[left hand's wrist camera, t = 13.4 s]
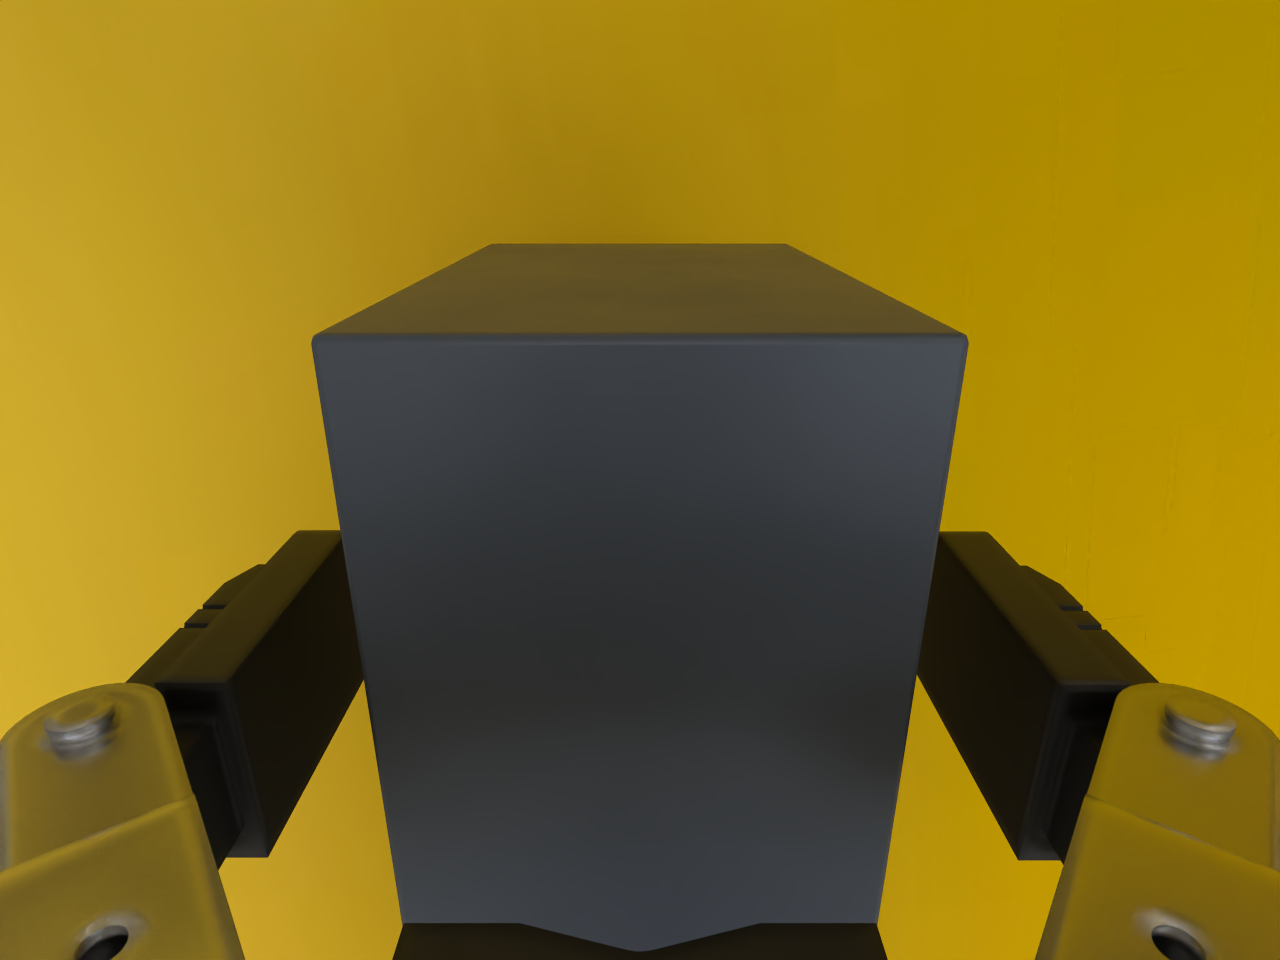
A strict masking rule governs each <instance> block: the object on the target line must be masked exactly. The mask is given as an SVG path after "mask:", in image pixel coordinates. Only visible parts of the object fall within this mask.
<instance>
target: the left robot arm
mask: <svg viewBox="0 0 1280 960" xmlns="http://www.w3.org/2000/svg"><path fill="white" fill-rule="evenodd" d="M184 624H185V626H184V628H179V629H178V630H177V631H176V632H175V633H174V634H173V635H172V636H171V637H170V638H169V639H168V640H167V641H166V642H165V643H164V644H163V645H162V646H161V647H160V648H159V649H158V650H157V651H156V652H155V653H154V654H153V655H152V656H151V657H150V658H149V659H148V660H147V661H146V662H145V663H144V664H143V665H142V666H141V667H140V668H139V669H138V670H137V671H136V672H135V673H134V674H133V675H132V676H131V677H130V678H129V679H128V680H127V681H126V682H125V683H115V684H106V685H101V686H96V687H91V688H88V689H84V690H81V691H77V692H74V693H72V694H69V695H66V696H63V697H61V698H59V699H56V700H54V701H52V702H50V703H48V704H46V705H44V706H42V707H40V708H38V709H37V710H35V711H33V712H32V713H30V714H29V715H27V716H25V717H24V718H23V719H21V720H20V721H19V722H18V723H16V724H15V725H14V726H13V727H12V728H11V729H10V730H9V731H8V732H7V733H6V734H5V735H4V736H3V738H2V739H1V740H0V960H245V957H244V954H243V951H242V948H241V944H240V941H239V938H238V934H237V931H236V928H235V925H234V921H233V918H232V915H231V912H230V908H229V905H228V902H227V898H226V895H225V892H224V889H223V885H222V882H221V879H220V876H219V872H218V870H219V868H220V867H221V865H222V863H223V862H224V860H225V858H226V857H268V856H269V854H270V853H271V851H272V849H273V847H274V845H275V843H276V841H277V840H278V838H279V836H280V834H281V832H282V830H283V828H284V827H285V825H286V823H287V821H288V819H289V817H290V815H291V814H292V812H293V810H294V808H295V806H296V804H297V802H298V801H299V799H300V797H301V795H302V793H303V791H304V789H305V788H306V786H307V784H308V782H309V780H310V778H311V776H312V775H313V773H314V771H315V769H316V767H317V765H318V763H319V762H320V760H321V758H322V756H323V754H324V752H325V750H326V749H327V747H328V745H329V743H330V741H331V739H332V737H333V736H334V734H335V732H336V730H337V728H338V726H339V724H340V723H341V721H342V719H343V717H344V715H345V713H346V711H347V710H348V708H349V706H350V704H351V702H352V700H353V698H354V697H355V695H356V693H357V691H358V689H359V687H360V685H361V683H362V682H363V680H364V676H363V670H362V663H361V657H360V651H359V644H358V638H357V632H356V625H355V619H354V613H353V606H352V600H351V593H350V587H349V581H348V574H347V568H346V562H345V555H344V549H343V542H342V536H341V530H299V531H297V532H296V533H295V534H293V535H292V537H291V538H290V539H289V540H288V541H287V542H286V543H285V544H284V545H283V546H282V547H281V548H280V549H279V550H278V551H277V553H276V554H275V555H274V556H273V557H272V558H271V559H270V560H269V561H268V562H267V563H266V564H258V565H256V566H254V567H253V568H251V569H249V570H247V571H245V572H244V573H242V574H240V575H238V576H236V577H235V578H233V579H231V580H229V581H227V582H226V583H224V584H223V585H222V586H221V587H220V588H219V589H218V590H217V591H216V592H215V593H214V594H213V595H212V596H211V597H210V598H209V599H208V600H207V601H206V602H205V603H204V604H203V609H198V610H197V611H196V612H195V613H194V614H193V615H192V616H191V617H190V618H189V619H188V620H187V621H186V622H185V623H184ZM917 675H918V677H919V679H920V681H921V683H922V685H923V686H924V688H925V690H926V692H927V694H928V696H929V697H930V699H931V701H932V703H933V705H934V707H935V708H936V710H937V712H938V714H939V716H940V718H941V719H942V721H943V723H944V725H945V727H946V729H947V730H948V732H949V734H950V736H951V738H952V740H953V741H954V743H955V745H956V747H957V749H958V751H959V752H960V754H961V756H962V758H963V760H964V762H965V763H966V765H967V767H968V769H969V771H970V773H971V774H972V776H973V778H974V780H975V782H976V784H977V785H978V787H979V789H980V791H981V793H982V795H983V796H984V798H985V800H986V802H987V804H988V806H989V807H990V809H991V811H992V813H993V815H994V817H995V818H996V820H997V822H998V824H999V826H1000V828H1001V830H1002V831H1003V833H1004V835H1005V837H1006V839H1007V841H1008V842H1009V844H1010V846H1011V848H1012V850H1013V852H1014V853H1015V855H1016V857H1017V859H1018V860H1061V862H1062V863H1063V865H1064V866H1063V869H1062V872H1061V876H1060V879H1059V882H1058V885H1057V889H1056V892H1055V895H1054V898H1053V902H1052V905H1051V908H1050V912H1049V915H1048V918H1047V921H1046V925H1045V928H1044V931H1043V934H1042V938H1041V941H1040V944H1039V948H1038V951H1037V954H1036V957H1035V960H1280V740H1279V739H1278V738H1277V736H1276V735H1275V734H1274V733H1273V732H1272V731H1271V730H1270V729H1269V728H1268V727H1267V726H1266V725H1265V724H1264V723H1262V722H1261V721H1260V720H1259V719H1257V718H1256V717H1255V716H1253V715H1251V714H1250V713H1248V712H1247V711H1245V710H1243V709H1242V708H1240V707H1238V706H1236V705H1234V704H1232V703H1230V702H1228V701H1226V700H1224V699H1221V698H1219V697H1217V696H1214V695H1211V694H1208V693H1206V692H1203V691H1199V690H1196V689H1192V688H1189V687H1184V686H1179V685H1174V684H1165V683H1159V682H1158V681H1157V680H1156V679H1155V678H1154V677H1153V676H1152V675H1151V674H1150V673H1149V672H1148V671H1147V670H1146V669H1145V668H1144V667H1143V666H1142V665H1141V664H1140V663H1139V662H1138V661H1137V660H1136V659H1135V658H1134V657H1133V656H1132V655H1131V654H1130V653H1129V652H1128V651H1127V650H1126V649H1125V648H1124V647H1123V646H1122V645H1121V644H1120V643H1119V642H1118V641H1117V640H1116V639H1115V638H1114V637H1113V636H1112V635H1111V634H1110V633H1109V632H1108V631H1107V630H1102V629H1101V624H1100V623H1099V622H1098V621H1097V620H1096V619H1095V618H1094V617H1093V616H1092V615H1091V614H1090V613H1089V612H1088V611H1083V606H1082V605H1081V604H1080V603H1079V602H1078V601H1077V600H1076V599H1075V598H1074V597H1073V596H1072V595H1071V594H1070V593H1069V592H1068V591H1067V590H1066V589H1065V588H1064V587H1063V586H1062V585H1061V584H1059V583H1057V582H1055V581H1053V580H1052V579H1050V578H1048V577H1046V576H1044V575H1043V574H1041V573H1039V572H1037V571H1035V570H1034V569H1032V568H1030V567H1028V566H1020V565H1019V564H1018V563H1017V562H1016V561H1015V560H1014V559H1013V558H1012V557H1011V556H1010V555H1009V554H1008V553H1007V552H1006V551H1005V550H1004V548H1003V547H1002V546H1001V545H1000V544H999V543H998V542H997V541H996V540H995V539H994V538H993V537H992V536H991V535H990V534H989V533H987V532H939V535H938V541H937V548H936V554H935V560H934V567H933V573H932V580H931V586H930V592H929V599H928V605H927V611H926V618H925V624H924V630H923V637H922V643H921V650H920V656H919V662H918V669H917ZM393 960H887V956H886V953H885V950H884V947H883V943H882V940H881V937H880V934H879V931H878V927H877V924H876V923H758V924H754V925H750V926H746V927H742V928H738V929H734V930H730V931H726V932H722V933H718V934H714V935H710V936H706V937H702V938H698V939H694V940H690V941H686V942H682V943H678V944H674V945H670V946H666V947H662V948H658V949H655V950H649V951H631V950H625V949H622V948H618V947H614V946H610V945H606V944H602V943H598V942H594V941H590V940H586V939H582V938H578V937H574V936H570V935H566V934H562V933H558V932H554V931H550V930H546V929H542V928H538V927H534V926H530V925H526V924H522V923H404V924H403V927H402V931H401V934H400V937H399V940H398V943H397V947H396V950H395V953H394V956H393Z"/></svg>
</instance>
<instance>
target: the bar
mask: <svg viewBox="0 0 1280 960" xmlns="http://www.w3.org/2000/svg"><path fill="white" fill-rule="evenodd" d="M968 344H969V343H968V339H967V335H965V334H963V333H961V332H959V331H957V330H955V329H953V328H951V327H949V326H947V325H945V324H943V323H941V322H939V321H937V320H935V319H933V318H931V317H929V316H927V315H925V314H923V313H921V312H919V311H917V310H915V309H913V308H912V307H910V306H908V305H906V304H904V303H902V302H900V301H898V300H896V299H894V298H892V297H890V296H888V295H886V294H884V293H882V292H880V291H878V290H876V289H874V288H872V287H870V286H868V285H866V284H864V283H862V282H860V281H858V280H856V279H854V278H852V277H850V276H849V275H847V274H845V273H843V272H841V271H839V270H837V269H835V268H833V267H831V266H829V265H827V264H825V263H823V262H821V261H819V260H817V259H815V258H813V257H811V256H809V255H807V254H805V253H803V252H801V251H799V250H797V249H795V248H793V247H791V246H789V245H787V244H491V245H489V246H487V247H485V248H483V249H481V250H479V251H477V252H475V253H473V254H471V255H469V256H467V257H465V258H463V259H461V260H459V261H457V262H456V263H454V264H452V265H450V266H448V267H446V268H444V269H442V270H440V271H438V272H436V273H434V274H432V275H430V276H428V277H426V278H424V279H422V280H421V281H419V282H417V283H415V284H413V285H411V286H409V287H407V288H405V289H403V290H401V291H399V292H397V293H395V294H393V295H391V296H389V297H388V298H386V299H384V300H382V301H380V302H378V303H376V304H374V305H372V306H370V307H368V308H366V309H364V310H362V311H360V312H358V313H356V314H354V315H353V316H351V317H349V318H347V319H345V320H343V321H341V322H339V323H337V324H335V325H333V326H331V327H329V328H327V329H325V330H323V331H321V332H319V333H318V334H316V335H314V336H313V338H312V343H311V345H312V351H313V358H314V364H315V370H316V377H317V383H318V390H319V396H320V402H321V409H322V415H323V421H324V428H325V434H326V440H327V447H328V453H329V460H330V466H331V472H332V479H333V485H334V491H335V498H336V504H337V511H338V517H339V523H340V530H341V536H342V542H343V549H344V555H345V562H346V568H347V574H348V581H349V587H350V593H351V600H352V606H353V613H354V619H355V625H356V632H357V638H358V644H359V651H360V657H361V663H362V670H363V676H364V683H365V689H366V695H367V702H368V708H369V714H370V721H371V727H372V734H373V740H374V746H375V753H376V759H377V765H378V772H379V778H380V785H381V791H382V797H383V804H384V810H385V816H386V823H387V829H388V835H389V842H390V848H391V855H392V861H393V867H394V874H395V880H396V886H397V893H398V899H399V906H400V912H401V918H402V925H403V924H404V923H522V924H526V925H530V926H534V927H538V928H542V929H546V930H550V931H554V932H558V933H562V934H566V935H570V936H574V937H578V938H582V939H586V940H590V941H594V942H598V943H602V944H606V945H610V946H614V947H618V948H622V949H625V950H631V951H649V950H655V949H658V948H662V947H666V946H670V945H674V944H678V943H682V942H686V941H690V940H694V939H698V938H702V937H706V936H710V935H714V934H718V933H722V932H726V931H730V930H734V929H738V928H742V927H746V926H750V925H754V924H758V923H876V924H877V923H878V917H879V910H880V904H881V898H882V891H883V885H884V879H885V872H886V866H887V860H888V853H889V847H890V840H891V834H892V828H893V821H894V815H895V809H896V802H897V796H898V790H899V783H900V777H901V770H902V764H903V758H904V751H905V745H906V739H907V732H908V726H909V720H910V713H911V707H912V700H913V694H914V688H915V681H916V675H917V669H918V662H919V656H920V650H921V643H922V637H923V630H924V624H925V618H926V611H927V605H928V599H929V592H930V586H931V580H932V573H933V567H934V560H935V554H936V548H937V541H938V535H939V529H940V522H941V516H942V510H943V503H944V497H945V490H946V484H947V478H948V471H949V465H950V459H951V452H952V446H953V440H954V433H955V427H956V420H957V414H958V408H959V401H960V395H961V389H962V382H963V376H964V370H965V363H966V357H967V350H968Z"/></svg>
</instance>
